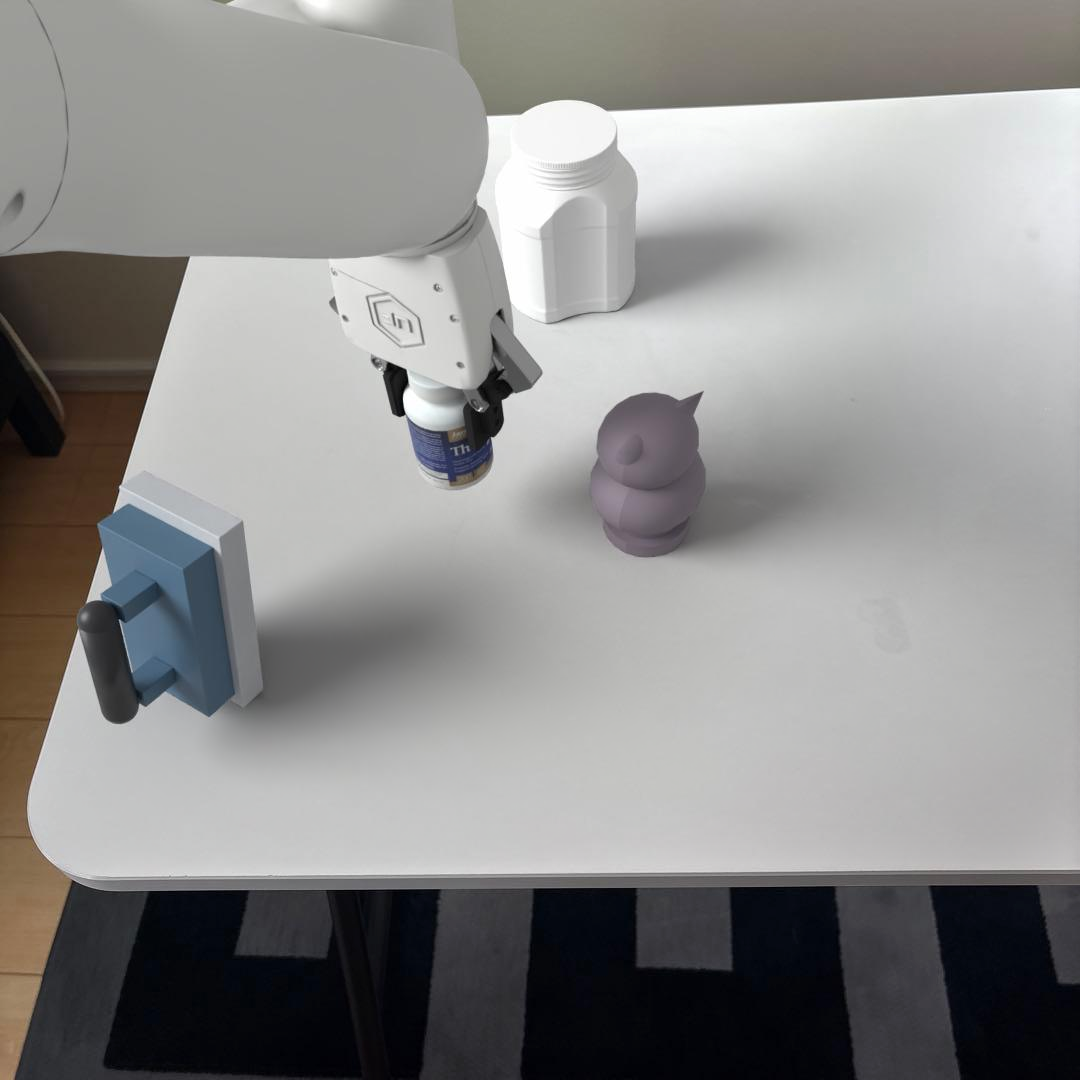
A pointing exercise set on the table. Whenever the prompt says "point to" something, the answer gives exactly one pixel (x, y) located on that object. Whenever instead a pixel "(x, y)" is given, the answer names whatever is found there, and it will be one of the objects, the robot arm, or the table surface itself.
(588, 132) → the jar
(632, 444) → the mauve rounded figurine
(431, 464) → the pill bottle
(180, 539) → the scrub brush
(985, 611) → the table surface
